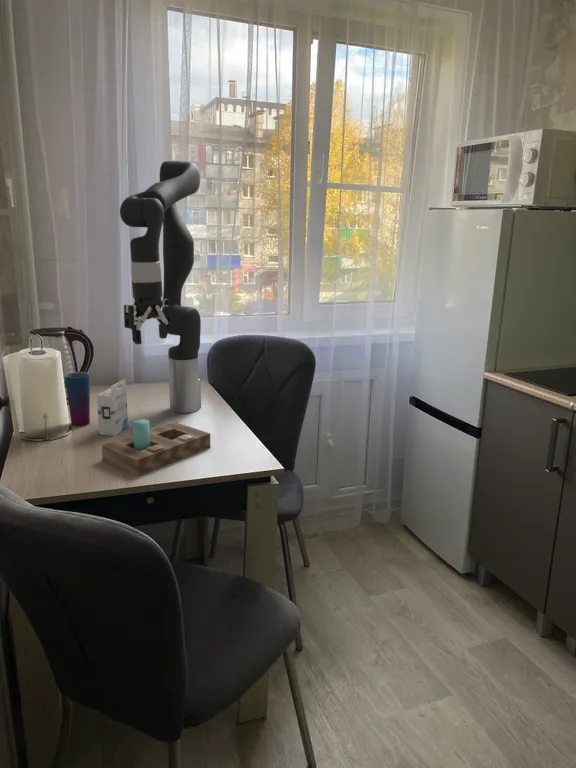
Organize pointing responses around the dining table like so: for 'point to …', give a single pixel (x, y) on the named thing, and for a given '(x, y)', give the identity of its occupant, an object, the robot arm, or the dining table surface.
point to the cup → (78, 397)
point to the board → (156, 448)
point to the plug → (141, 434)
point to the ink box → (113, 409)
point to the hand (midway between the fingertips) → (150, 340)
